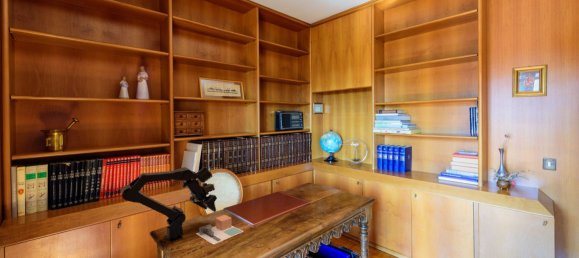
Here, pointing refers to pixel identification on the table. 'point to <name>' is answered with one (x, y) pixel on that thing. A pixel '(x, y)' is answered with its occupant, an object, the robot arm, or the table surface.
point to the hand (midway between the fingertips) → (210, 210)
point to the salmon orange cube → (223, 222)
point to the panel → (220, 234)
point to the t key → (206, 230)
